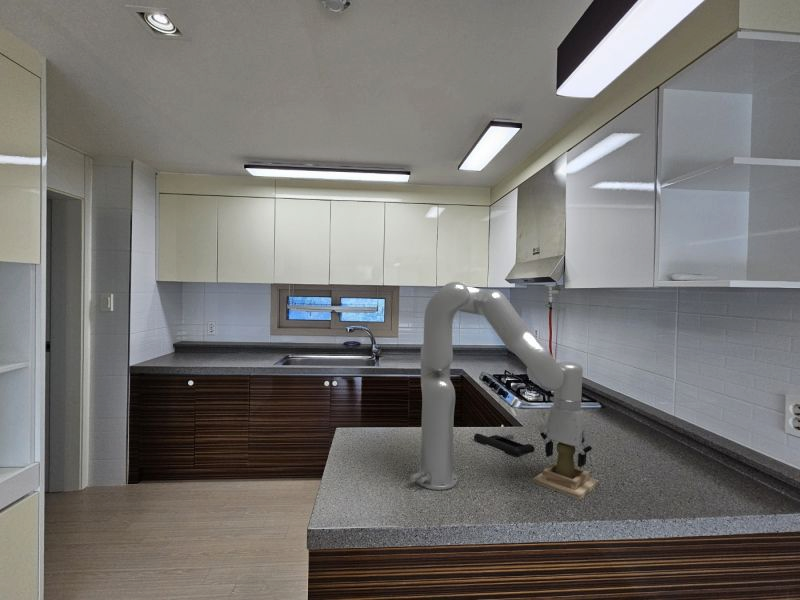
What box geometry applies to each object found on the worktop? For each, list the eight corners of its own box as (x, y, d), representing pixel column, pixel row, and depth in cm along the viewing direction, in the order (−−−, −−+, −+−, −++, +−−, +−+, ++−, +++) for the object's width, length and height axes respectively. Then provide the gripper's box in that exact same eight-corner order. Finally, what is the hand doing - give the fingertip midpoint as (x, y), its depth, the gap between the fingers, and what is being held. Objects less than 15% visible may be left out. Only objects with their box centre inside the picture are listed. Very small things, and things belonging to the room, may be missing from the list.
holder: (579, 500, 112) (579, 486, 112) (532, 482, 122) (532, 470, 122) (598, 484, 121) (599, 472, 121) (553, 468, 132) (554, 457, 132)
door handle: (498, 428, 165) (471, 433, 155) (542, 443, 149) (515, 450, 139) (497, 436, 165) (471, 442, 155) (541, 452, 149) (515, 460, 139)
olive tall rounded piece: (550, 478, 122) (551, 442, 121) (559, 472, 126) (560, 437, 126) (570, 486, 117) (571, 448, 117) (579, 479, 122) (580, 443, 121)
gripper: (534, 399, 125) (531, 454, 125) (592, 413, 112) (589, 474, 113) (545, 396, 130) (543, 449, 130) (602, 408, 118) (599, 467, 118)
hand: (564, 460), depth 122 cm, fingers open, 9 cm apart
